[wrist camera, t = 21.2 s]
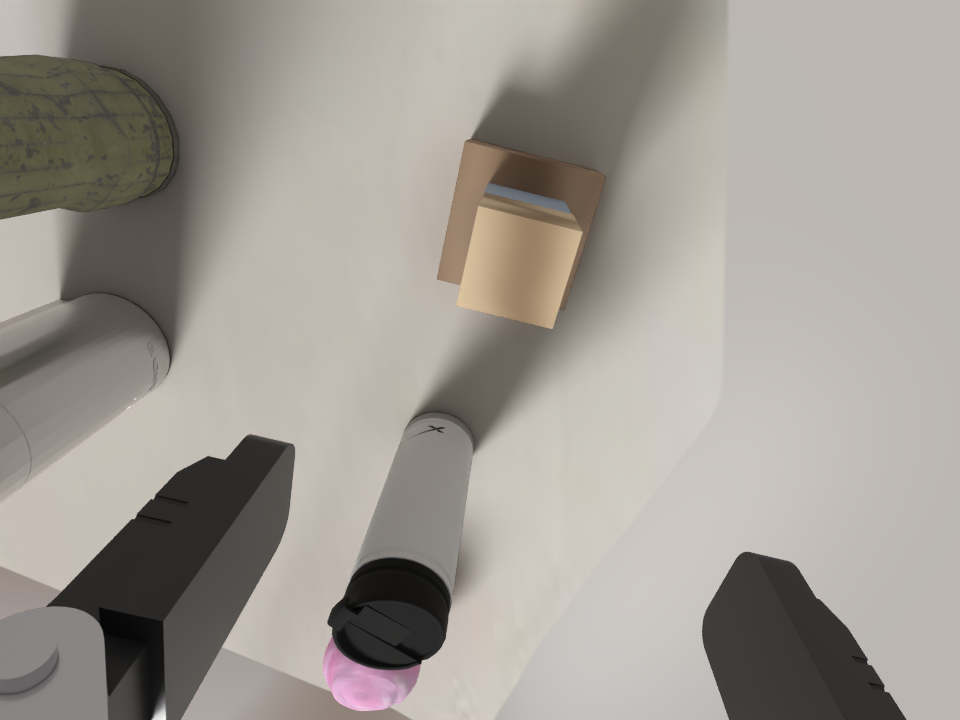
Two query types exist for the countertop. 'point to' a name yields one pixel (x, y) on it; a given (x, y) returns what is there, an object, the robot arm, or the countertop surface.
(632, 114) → the countertop surface
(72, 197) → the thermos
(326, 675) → the cupcake
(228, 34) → the countertop surface
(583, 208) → the walnut plinth
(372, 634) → the travel mug
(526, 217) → the oak block
